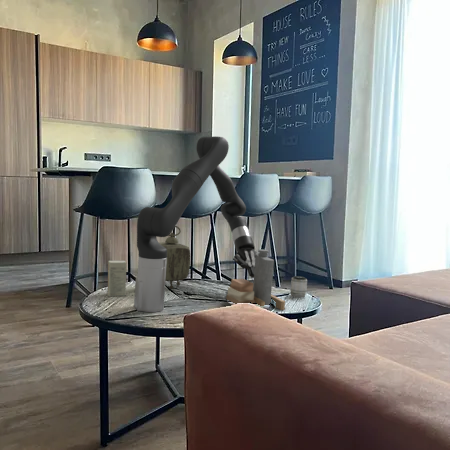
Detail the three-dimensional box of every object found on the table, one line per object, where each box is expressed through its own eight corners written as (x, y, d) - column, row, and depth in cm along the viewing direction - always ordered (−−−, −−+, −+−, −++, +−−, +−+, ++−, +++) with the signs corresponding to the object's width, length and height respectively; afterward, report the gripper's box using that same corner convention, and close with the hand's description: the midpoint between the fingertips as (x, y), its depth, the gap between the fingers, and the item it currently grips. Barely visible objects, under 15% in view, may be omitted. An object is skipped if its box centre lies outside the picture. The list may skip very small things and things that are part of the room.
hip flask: (270, 309, 158) (275, 253, 156) (259, 309, 157) (264, 253, 155) (259, 298, 173) (263, 246, 172) (249, 297, 173) (253, 246, 171)
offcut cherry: (240, 292, 157) (241, 283, 157) (230, 287, 163) (231, 279, 163) (252, 291, 160) (253, 283, 159) (242, 286, 166) (243, 278, 165)
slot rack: (260, 310, 156) (261, 302, 155) (229, 291, 181) (230, 283, 181) (284, 309, 159) (285, 301, 159) (250, 290, 185) (251, 283, 185)
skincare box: (124, 293, 166) (126, 260, 165) (125, 296, 162) (127, 262, 161) (106, 293, 164) (108, 259, 163) (107, 296, 160) (108, 262, 159)
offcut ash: (239, 301, 157) (240, 292, 156) (227, 295, 164) (228, 287, 163) (253, 299, 160) (254, 291, 160) (241, 294, 167) (241, 286, 166)
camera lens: (288, 293, 184) (290, 275, 184) (303, 294, 185) (305, 275, 184) (292, 297, 178) (293, 278, 178) (307, 298, 179) (309, 279, 178)
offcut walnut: (236, 309, 157) (237, 301, 156) (226, 302, 165) (226, 294, 164) (254, 308, 160) (255, 300, 159) (242, 301, 168) (243, 294, 167)
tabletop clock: (180, 284, 186) (184, 224, 184) (190, 289, 179) (194, 227, 176) (147, 286, 179) (151, 224, 176) (156, 292, 171) (160, 226, 169)
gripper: (231, 234, 177) (241, 271, 167) (260, 235, 182) (272, 271, 172) (224, 245, 183) (234, 282, 173) (253, 245, 188) (265, 281, 178)
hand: (253, 276), depth 172 cm, fingers closed
